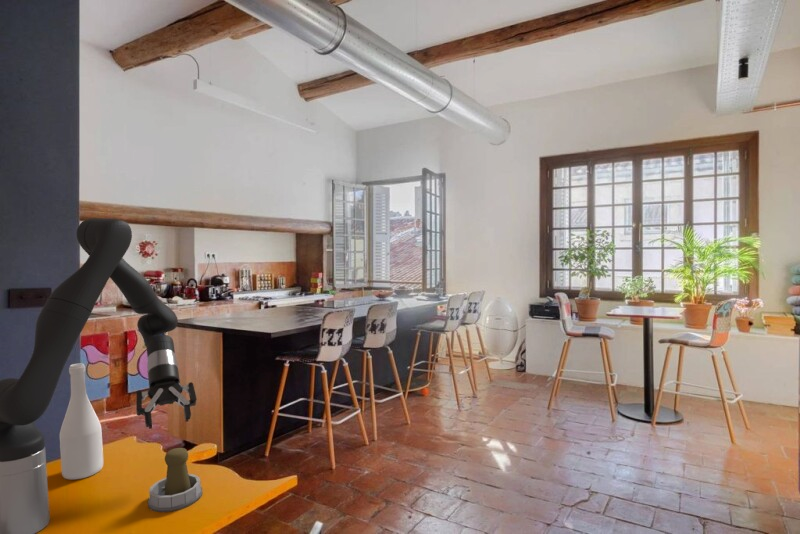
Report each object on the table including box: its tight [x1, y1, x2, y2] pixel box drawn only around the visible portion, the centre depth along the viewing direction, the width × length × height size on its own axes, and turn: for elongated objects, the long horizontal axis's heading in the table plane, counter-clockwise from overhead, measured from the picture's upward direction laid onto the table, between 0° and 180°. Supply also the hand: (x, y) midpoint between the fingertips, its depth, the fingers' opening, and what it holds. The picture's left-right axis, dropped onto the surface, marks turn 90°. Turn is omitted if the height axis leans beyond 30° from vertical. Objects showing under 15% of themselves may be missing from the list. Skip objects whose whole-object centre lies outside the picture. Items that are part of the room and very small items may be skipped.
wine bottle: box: [59, 362, 104, 481], centre depth 129 cm, size 10×10×30 cm
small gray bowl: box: [147, 473, 203, 513], centre depth 116 cm, size 12×12×3 cm
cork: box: [164, 447, 191, 495], centre depth 116 cm, size 6×6×11 cm
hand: (169, 423), depth 122 cm, fingers open, 8 cm apart
